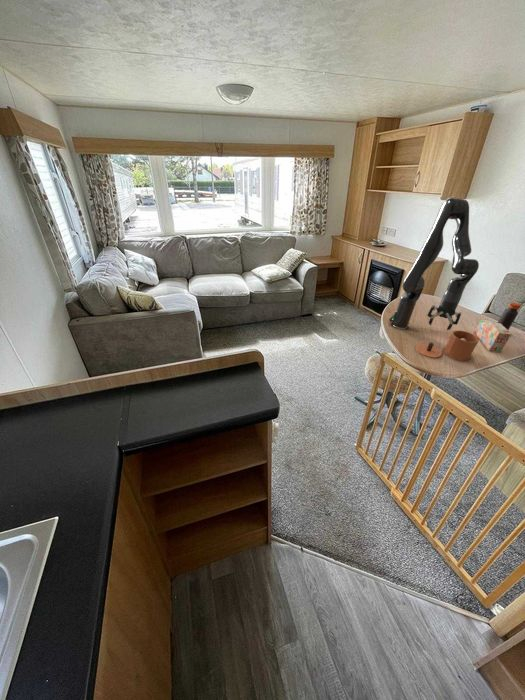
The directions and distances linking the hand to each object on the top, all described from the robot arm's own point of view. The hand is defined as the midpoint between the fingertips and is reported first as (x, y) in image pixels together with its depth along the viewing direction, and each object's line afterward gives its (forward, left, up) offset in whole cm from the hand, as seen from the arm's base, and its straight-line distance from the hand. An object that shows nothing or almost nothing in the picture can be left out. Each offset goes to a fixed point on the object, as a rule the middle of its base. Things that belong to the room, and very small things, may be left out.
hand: (438, 327), depth 154 cm
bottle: (+30, +55, -16) cm, 65 cm away
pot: (+13, +8, -16) cm, 22 cm away
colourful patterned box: (+25, +36, -16) cm, 47 cm away
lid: (0, 0, -15) cm, 16 cm away
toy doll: (+13, +8, -16) cm, 22 cm away
